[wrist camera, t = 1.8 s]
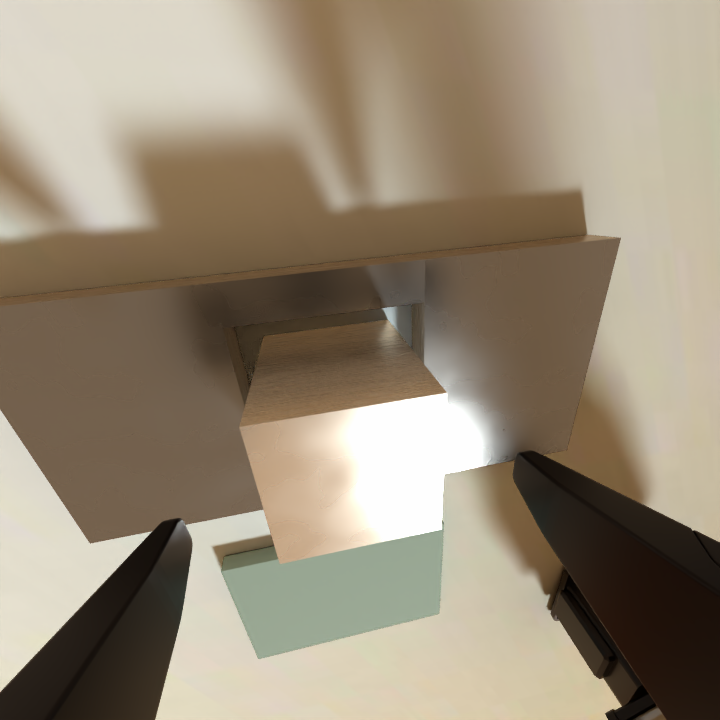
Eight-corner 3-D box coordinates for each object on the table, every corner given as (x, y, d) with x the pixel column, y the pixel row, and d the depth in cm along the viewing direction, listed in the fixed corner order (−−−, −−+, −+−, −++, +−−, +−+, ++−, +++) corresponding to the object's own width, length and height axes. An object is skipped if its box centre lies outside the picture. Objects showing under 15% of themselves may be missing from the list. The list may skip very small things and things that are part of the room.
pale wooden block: (387, 319, 13) (447, 393, 8) (391, 418, 16) (441, 529, 10) (264, 335, 13) (239, 426, 7) (286, 436, 15) (279, 563, 10)
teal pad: (438, 511, 19) (444, 523, 18) (434, 601, 23) (439, 613, 22) (224, 556, 17) (221, 571, 17) (259, 644, 21) (258, 659, 21)
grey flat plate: (588, 234, 13) (620, 237, 12) (546, 431, 18) (566, 450, 16) (-19, 300, 11) (-65, 313, 9) (108, 513, 15) (90, 543, 14)
